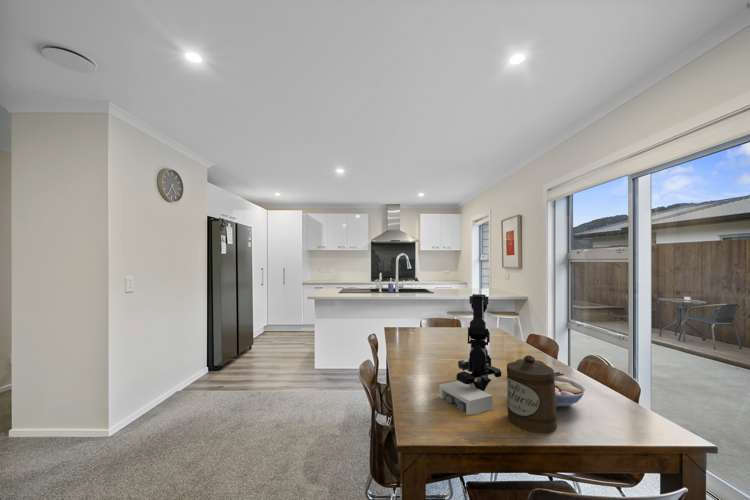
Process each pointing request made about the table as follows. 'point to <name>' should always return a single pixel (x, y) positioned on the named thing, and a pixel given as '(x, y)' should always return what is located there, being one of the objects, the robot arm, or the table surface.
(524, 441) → the table surface
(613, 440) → the table surface
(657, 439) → the table surface
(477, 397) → the white box
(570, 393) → the ramen bowl
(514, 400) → the wooden container
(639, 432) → the table surface
